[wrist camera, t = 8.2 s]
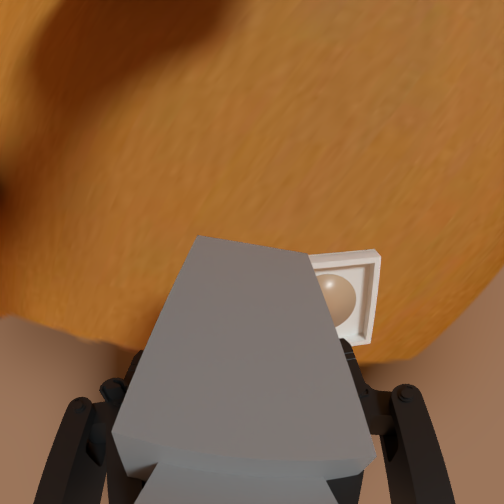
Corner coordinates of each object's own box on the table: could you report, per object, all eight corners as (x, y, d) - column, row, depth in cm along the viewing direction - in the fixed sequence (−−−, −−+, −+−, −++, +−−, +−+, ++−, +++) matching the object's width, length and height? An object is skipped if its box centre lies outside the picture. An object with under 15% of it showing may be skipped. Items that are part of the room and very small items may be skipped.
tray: (275, 344, 44) (276, 354, 42) (268, 258, 38) (269, 267, 36) (365, 333, 43) (370, 343, 41) (374, 249, 38) (381, 256, 35)
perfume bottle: (197, 235, 18) (64, 586, 2) (307, 253, 19) (407, 595, 2) (188, 324, 21) (124, 590, 4) (282, 338, 21) (307, 604, 5)
